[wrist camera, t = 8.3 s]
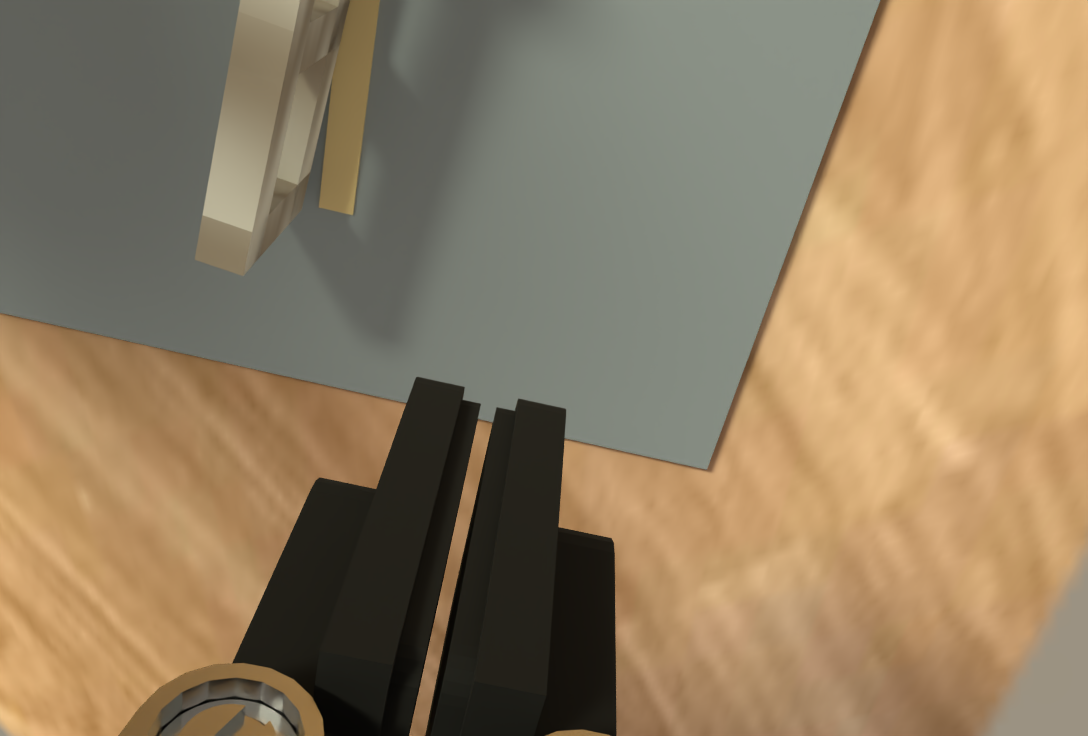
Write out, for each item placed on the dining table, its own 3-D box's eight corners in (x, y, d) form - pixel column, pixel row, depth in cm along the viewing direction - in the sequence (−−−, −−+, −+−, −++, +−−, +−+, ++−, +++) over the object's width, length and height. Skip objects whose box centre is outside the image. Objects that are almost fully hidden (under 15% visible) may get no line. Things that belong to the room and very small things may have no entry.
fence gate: (348, -228, 22) (283, -246, 18) (398, -208, 22) (345, -221, 18) (260, 195, 27) (194, 259, 23) (301, 209, 27) (243, 276, 23)
